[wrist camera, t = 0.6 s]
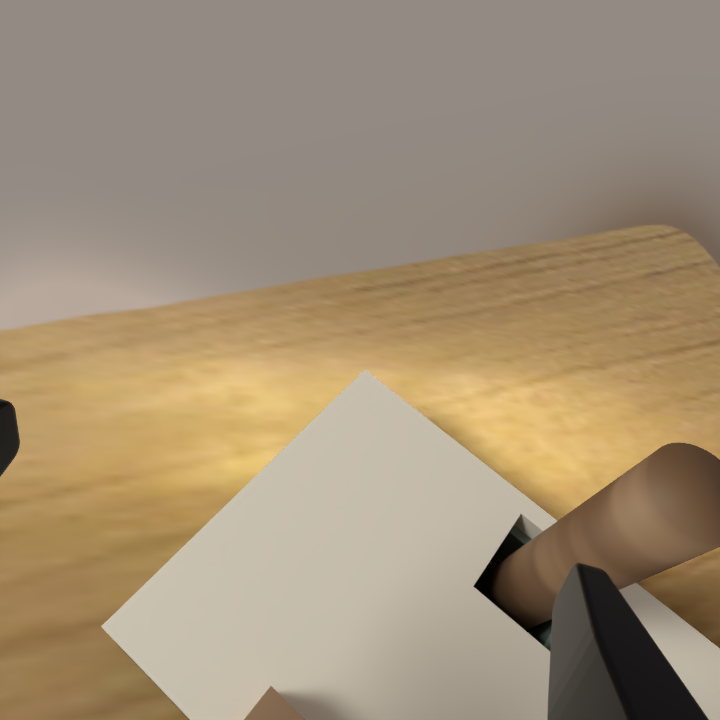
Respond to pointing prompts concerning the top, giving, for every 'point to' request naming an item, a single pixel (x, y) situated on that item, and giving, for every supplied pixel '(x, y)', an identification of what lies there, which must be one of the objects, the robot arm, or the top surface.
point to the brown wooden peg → (617, 533)
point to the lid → (363, 587)
